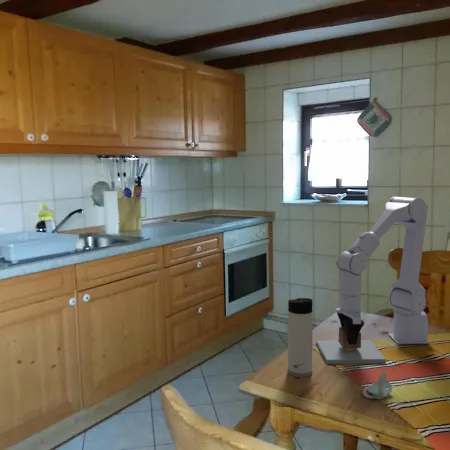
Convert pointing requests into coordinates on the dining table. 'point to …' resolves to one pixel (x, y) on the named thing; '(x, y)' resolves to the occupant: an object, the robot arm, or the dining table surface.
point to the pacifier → (378, 388)
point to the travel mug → (300, 337)
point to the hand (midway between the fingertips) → (349, 340)
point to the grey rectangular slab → (349, 353)
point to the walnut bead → (344, 341)
